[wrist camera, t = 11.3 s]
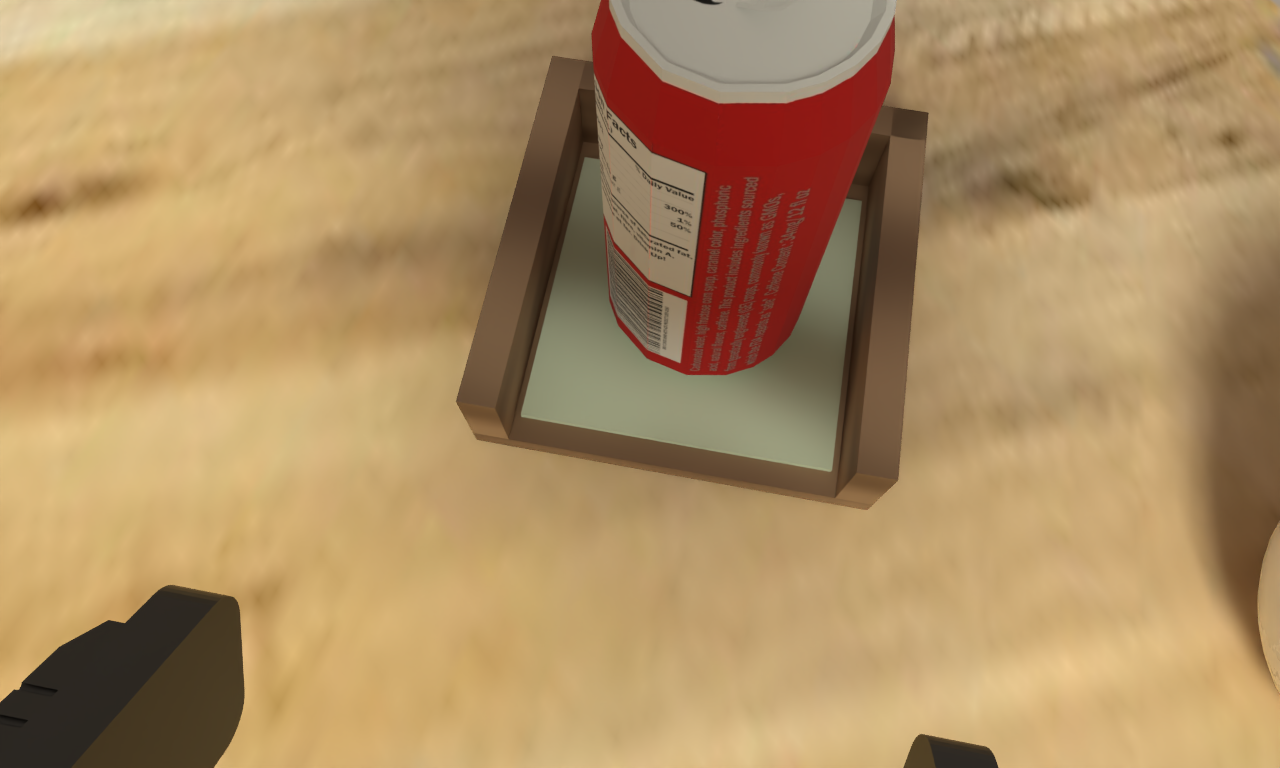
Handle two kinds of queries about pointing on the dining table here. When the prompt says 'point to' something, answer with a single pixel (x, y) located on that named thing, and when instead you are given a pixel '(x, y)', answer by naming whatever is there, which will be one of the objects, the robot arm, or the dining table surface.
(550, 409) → the caddy
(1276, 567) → the lidded jar
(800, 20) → the soda can
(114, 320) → the dining table surface
